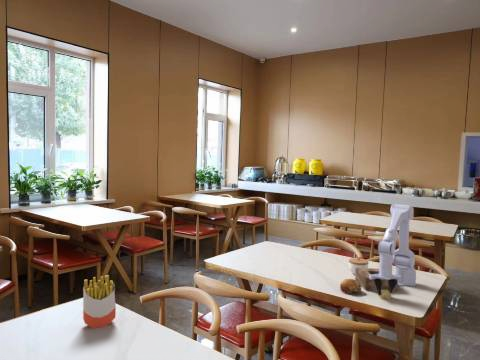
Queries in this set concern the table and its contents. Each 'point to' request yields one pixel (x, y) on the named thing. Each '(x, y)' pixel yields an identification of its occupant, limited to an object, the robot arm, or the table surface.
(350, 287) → the bread roll
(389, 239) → the robot arm
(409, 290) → the table surface
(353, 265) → the lidded jar
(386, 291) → the brass cube
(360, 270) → the coin box
